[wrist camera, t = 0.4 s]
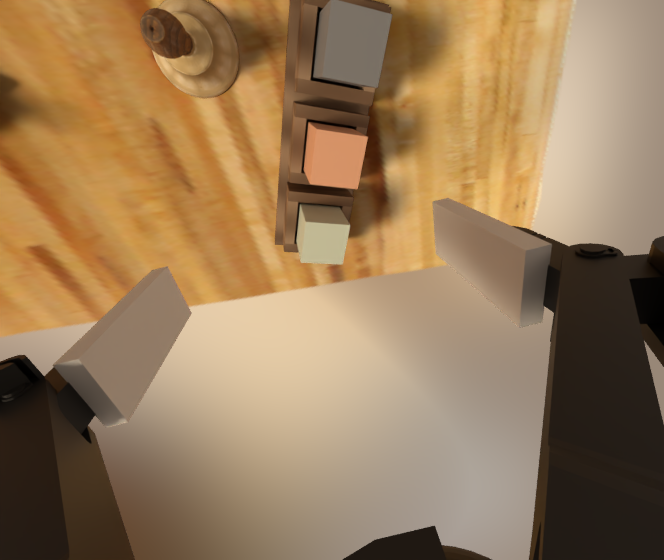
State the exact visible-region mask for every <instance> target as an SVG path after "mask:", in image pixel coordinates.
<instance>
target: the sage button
mask: <svg viewBox="0 0 664 560" xmlns="http://www.w3.org/2000/svg"><path fill="white" fill-rule="evenodd" d="M349 230H350V224H349V222H348V220H347V219H346V217H345V215H344V214H343V212H342V210H341V209H340V207H338V206H327V205H316V204H305V203H300V208H299V218H298V228H297V237H296V241H297V246H298V251H299V256H300V261H301V263H322V264H343V260H344V255H345V250H346V245H347V240H348V235H349Z"/></svg>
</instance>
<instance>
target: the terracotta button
mask: <svg viewBox="0 0 664 560" xmlns="http://www.w3.org/2000/svg"><path fill="white" fill-rule="evenodd" d="M367 139H368V137H367V136H365V135H364V134H362V133H360V132H358V131H356V130H354V129H352V128H346V127H339V126H333V125H326V124H320V123H314V122H308V130H307V139H306V149H305V159H304V169H303V170H304V172H305V174H306V176H307V179H308V181H309V183H310V184H313V185H323V186H332V187H341V188H351V189H358V185H359V180H360V175H361V170H362V165H363V160H364V154H365V149H366V144H367Z"/></svg>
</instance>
